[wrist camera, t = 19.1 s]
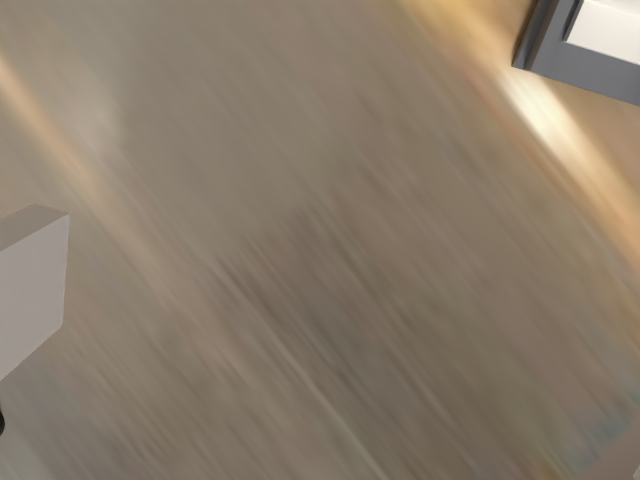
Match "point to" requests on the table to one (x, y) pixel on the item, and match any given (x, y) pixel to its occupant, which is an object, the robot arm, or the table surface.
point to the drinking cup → (1, 424)
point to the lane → (573, 56)
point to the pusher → (607, 28)
